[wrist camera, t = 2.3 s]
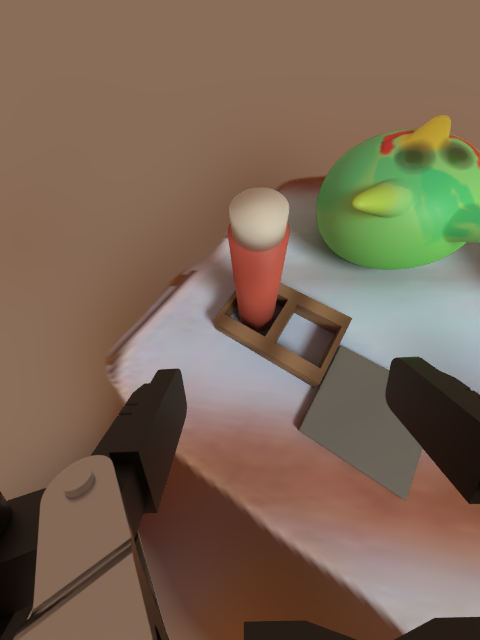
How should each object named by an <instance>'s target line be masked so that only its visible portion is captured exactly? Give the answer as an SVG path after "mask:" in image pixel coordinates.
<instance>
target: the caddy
mask: <svg viewBox="0 0 480 640" xmlns="http://www.w3.org/2000/svg"><path fill="white" fill-rule="evenodd" d="M276 303H277V304H278V305H280V306H282V307H283V309H282V311H281V312H280V314H279V315H278V317H277V318H276V320H275V322H274V323H273V325H272V326H271V328H270V330H269V331H268V333H267V334H266V336H265V337H264V336H263V335H261V334H259V333H257V332H256V331H254V330H252V329H250V328H249V327H247V326H245V325H243V324H242V323H240V322H238V321H236V320H235V319H233V318H231V317H230V316H231V314H232V313H233V312H234V310H235V309H236V307H237V306H238V304H237V297H236V290H235V292H234V293H233V295H232V296H231V297H230V299H229V300H228V301H227V303H226V304H225V306H224V307H223V308H222V310H221V311H220V312H219V314H218V315H217V316H216V318H215V319H214V321H213V323H214V326H215V328H216V329H217V330H218V331H220V332H222V333H223V334H225V335H227V336H229V337H230V338H232V339H234V340H235V341H237V342H239V343H240V344H242V345H244V346H245V347H247V348H249V349H250V350H252V351H254V352H255V353H257V354H259V355H260V356H262V357H264V358H265V359H267V360H269V361H270V362H272V363H274V364H275V365H277V366H279V367H280V368H282V369H284V370H285V371H287V372H289V373H291V374H292V375H294V376H296V377H297V378H299V379H301V380H302V381H304V382H306V383H307V384H309V385H311V386H312V387H316V386H317V385H319V384H320V382H321V380H322V378H323V376H324V374H325V372H326V370H327V368H328V366H329V364H330V362H331V360H332V358H333V356H334V354H335V352H336V350H337V348H338V346H339V344H340V342H341V340H342V338H343V336H344V334H345V332H346V330H347V328H348V326H349V324H350V322H351V320H352V318H351V317H349V316H347V315H345V314H343V313H341V312H338V311H336V310H334V309H332V308H330V307H328V306H326V305H324V304H322V303H320V302H318V301H316V300H314V299H312V298H310V297H308V296H306V295H304V294H302V293H300V292H298V291H296V290H294V289H292V288H290V287H287V286H285V285H283V284H281V283H280V286H279V291H278V296H277V301H276ZM293 313H296V314H298V315H300V316H302V317H304V318H305V319H307V320H309V321H311V322H313V323H315V324H317V325H319V326H321V327H323V328H325V329H327V330H329V331H330V332H332V333H334V334H335V335H334V337H333V339H332V341H331V343H330V345H329V347H328V349H327V351H326V353H325V355H324V357H323V358H322V360H321V362H320V364H319V366H318V367H317V366H315V365H314V364H312V363H310V362H308V361H307V360H305V359H303V358H301V357H300V356H298V355H296V354H294V353H292V352H291V351H289V350H287V349H285V348H284V347H282V346H280V345H278V344H277V343H276V341H277V340H278V338H279V336H280V335H281V333H282V331H283V330H284V328H285V326H286V325H287V323H288V321H289V320H290V318H291V316H292V315H293Z"/></svg>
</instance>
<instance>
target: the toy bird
mask: <svg viewBox="0 0 480 640" xmlns="http://www.w3.org/2000/svg"><path fill="white" fill-rule="evenodd" d="M450 127H451V120H450V118H449V117H448V116H446V115H440V116H437V117H435V118H433V119H431V120H430V121H429V122H427V123H426V124H424V125H423V126H422V127H420V128H418V129H417V128H416V129H403V130H397V131H392V132H388V133H384V134H381V135H378V136H375V137H372V138H370V139H368V140H366V141H364V142H362V143H360V144H358V145H357V146H355V147H354V148H352V149H351V150H349V151H348V152H347V153H346V154H345V155H343V156H342V157H341V158H340V159H339V160H338V161H337V162H336V164H335V165H334V166H333V167H332V168H331V170H330V171H329V173H328V174H327V176H326V178H325V180H324V182H323V184H322V186H321V189H320V192H319V195H318V199H317V206H316V218H317V224H318V228H319V231H320V234H321V236H322V238H323V239H324V241H325V242H326V244H327V245H328V246H329V247H330V249H331V250H332V251H334V252H335V253H336V254H337V255H339V256H340V257H342V258H344V259H345V260H347V261H349V262H352V263H354V264H357V265H360V266H364V267H368V268H374V269H384V270H396V269H407V268H413V267H418V266H422V265H426V264H429V263H432V262H435V261H437V260H440V259H442V258H444V257H446V256H448V255H450V254H452V253H453V252H455V251H456V250H458V249H459V248H461V247H462V246H463V245H464V244H466V243H467V242H471V243H480V151H479V150H478V149H477V148H475V147H474V146H473V145H472V144H470V143H469V142H467V141H465V140H464V139H462V138H460V137H457V136H455V135H452V134H450Z"/></svg>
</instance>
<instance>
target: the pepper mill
mask: <svg viewBox="0 0 480 640" xmlns="http://www.w3.org/2000/svg"><path fill="white" fill-rule="evenodd" d="M229 214H230V224H229V227H228V239H229V246H230V254H231V261H232V268H233V275H234V283H235V290H236V297H237V304H238V312H239V318H240V321H241V323H242V324H243V325H245V326H247V327H249V328H250V329H252V330H254V331H261V330H264V329H266V328H267V327H269V325H270V324H271V323H272V321H273V317H274V312H275V307H276V301H277V296H278V291H279V286H280V280H281V275H282V270H283V265H284V260H285V254H286V249H287V244H288V239H289V233H290V230H289V225H288V223H287V221H288V215H289V203H288V201H287V199H286V198H285V197H284V196H283V195H282V194H281V193H279V192H278V191H276V190H273V189H269V188H264V187H256V188H250V189H247V190H244V191H242V192H240V193H239V194H237V195H236V196H235V197H234V198H233V200H232V201H231V203H230V207H229Z"/></svg>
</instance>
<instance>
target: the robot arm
mask: <svg viewBox="0 0 480 640" xmlns="http://www.w3.org/2000/svg"><path fill="white" fill-rule="evenodd" d="M385 398H386V402H387V404H388V407H389V408H390V410H391V411H392V412H393V413H394V415H395V416H396V417H397V418H398V419H399V421H400V422H401V423H402V424H403V425H404V426H405V428H406V429H407V430H408V431H409V432H410V434H411V435H412V436H413V437H414V438H415V440H416V441H417V442H418V443H419V444H420V446H421V447H422V448H423V449H424V450H425V452H426V453H427V454H428V455H429V456H430V458H431V459H432V460H433V461H434V462H435V464H436V465H437V466H438V467H439V468H440V470H441V471H442V472H443V473H444V474H445V476H446V477H447V478H448V479H449V480H450V482H451V483H452V484H453V485H454V486H455V488H456V489H457V490H458V491H459V492H460V493H461V495H462V496H463V497H464V498H465V499H466V501H467V502H468V503H469V504H480V395H479V394H478V393H476V392H475V391H474V390H473V391H471V390H470V388H469V387H468V386H466V385H465V384H463V383H462V382H460V381H459V380H458V379H456V378H454V377H452V376H450V375H448V374H445V373H443V372H441V371H439V370H438V369H436V368H435V367H433V366H432V365H430V364H429V363H428V362H426V361H425V360H423V359H422V358H420V357H401V358H394V359H393V360H392V362H391V366H390V371H389V376H388V381H387V386H386V391H385ZM186 412H187V402H186V396H185V391H184V385H183V380H182V374H181V371H180V369H161V370H158V371H157V373H156V374H155V376H154V378H153V379H152V381H151V383H148V384H143V385H142V386H141V387H140V388H138V389H137V390H136V391H135V392H134V393H133V394H132V395H131V397H130V398H129V399H128V401H127V402H126V404H125V406H124V407H123V408H122V410H121V411H120V413H119V416H117V417H116V419H115V420H114V422H113V423H112V425H111V426H110V428H109V430H108V431H107V432H106V434H105V435H104V437H103V438H102V440H101V441H100V443H99V444H98V446H97V447H96V449H95V450H94V452H93V453H92V455H91V456H89V457H86V458H83V459H81V460H79V461H76V462H75V463H73V464H71V465H70V466H68V467H67V468H66V469H64V470H63V471H62V472H60V473H59V474H58V475H57V476H56V477H55V478H54V479H53V480H52V482H51V483H50V484H49V485H48V487H47V488H45V489H42V490H38V491H35V492H32V493H29V494H27V495H23V496H20V497H18V498H14V499H11V500H8V501H6V500H5V498H4V496H3V495H2V493H1V492H0V640H169V637H168V634H167V632H166V628H165V625H164V622H163V619H162V615H161V612H160V608H159V605H158V601H157V598H156V594H155V591H154V587H153V583H152V580H151V576H150V572H149V569H148V565H147V562H146V558H145V555H144V551H143V547H142V544H141V540H140V536H139V533H138V528H139V525H140V522H141V519H142V516H143V514H145V513H157V512H158V508H159V505H160V502H161V498H162V495H163V492H164V488H165V485H166V482H167V478H168V475H169V472H170V468H171V465H172V462H173V458H174V455H175V452H176V448H177V445H178V442H179V438H180V435H181V432H182V428H183V425H184V422H185V418H186ZM32 608H33V610H32ZM31 610H32V614H31V617H30V618H29V619H28V620H27V618H28V616H29V614H30V612H31ZM244 640H356V639H353V638H350V637H348V636H345V635H342V634H340V633H337V632H334V631H331V630H329V629H326V628H324V627H321V626H318V625H316V624H313V623H310V622H308V621H262V622H244ZM395 640H480V617H455V618H434V619H432V620H430V621H428V622H426V623H424V624H423V625H421V626H419V627H417V628H415V629H413V630H412V631H410V632H408V633H406V634H404V635H402V636H401V637H399V638H397V639H395Z"/></svg>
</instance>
